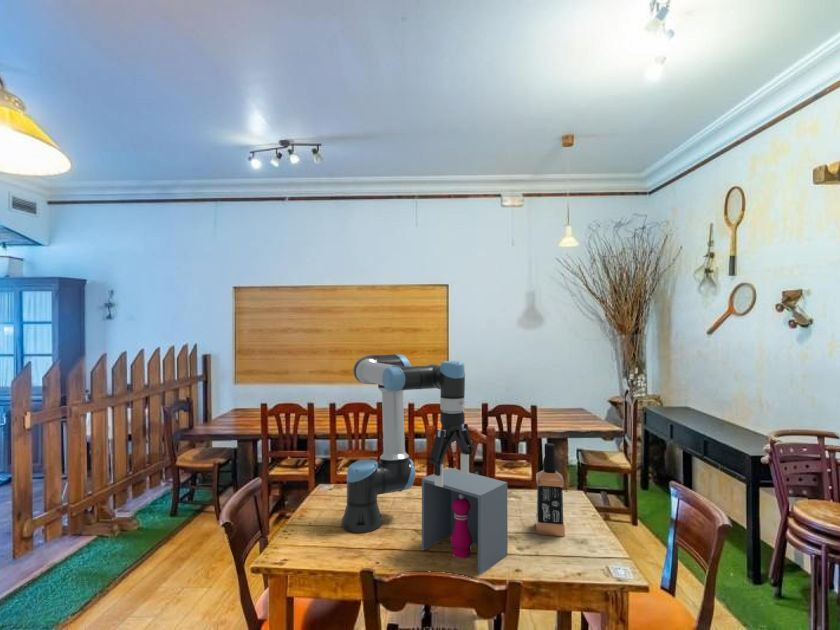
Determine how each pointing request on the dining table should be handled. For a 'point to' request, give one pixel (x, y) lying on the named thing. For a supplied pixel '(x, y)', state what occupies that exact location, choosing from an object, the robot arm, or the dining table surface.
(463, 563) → the dining table surface
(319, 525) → the dining table surface
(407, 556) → the dining table surface
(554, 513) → the whiskey bottle
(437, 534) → the cubby
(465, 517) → the pepper mill
